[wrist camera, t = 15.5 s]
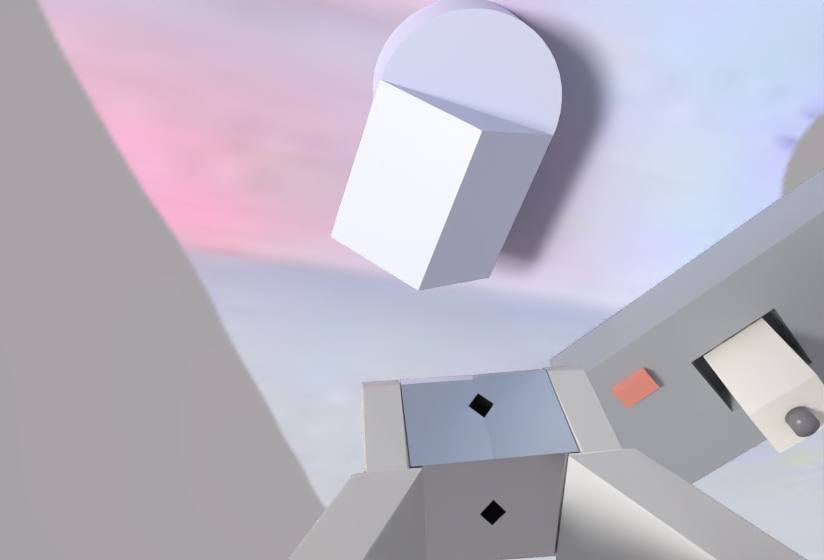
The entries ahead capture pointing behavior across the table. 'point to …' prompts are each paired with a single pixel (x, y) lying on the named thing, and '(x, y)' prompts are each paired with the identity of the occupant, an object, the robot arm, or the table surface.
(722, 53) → the table surface
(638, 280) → the table surface
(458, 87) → the wedge on round base
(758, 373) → the plug
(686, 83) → the table surface
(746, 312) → the socket plate
